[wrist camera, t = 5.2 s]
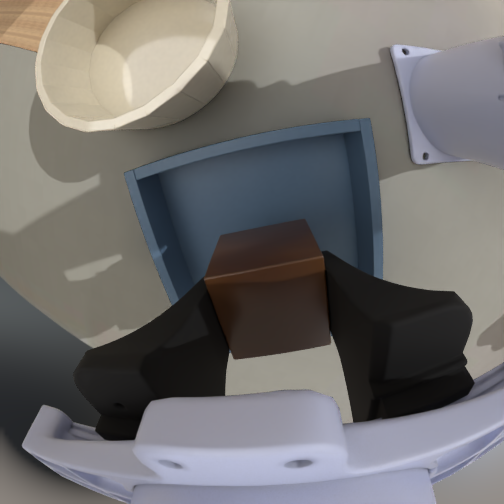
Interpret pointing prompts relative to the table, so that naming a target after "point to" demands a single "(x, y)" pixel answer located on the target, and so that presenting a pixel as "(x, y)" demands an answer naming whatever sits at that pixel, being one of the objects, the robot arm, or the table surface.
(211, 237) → the tub
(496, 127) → the robot arm
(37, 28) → the architectural model on board
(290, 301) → the walnut block
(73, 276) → the table surface
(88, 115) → the cup
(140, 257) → the table surface
